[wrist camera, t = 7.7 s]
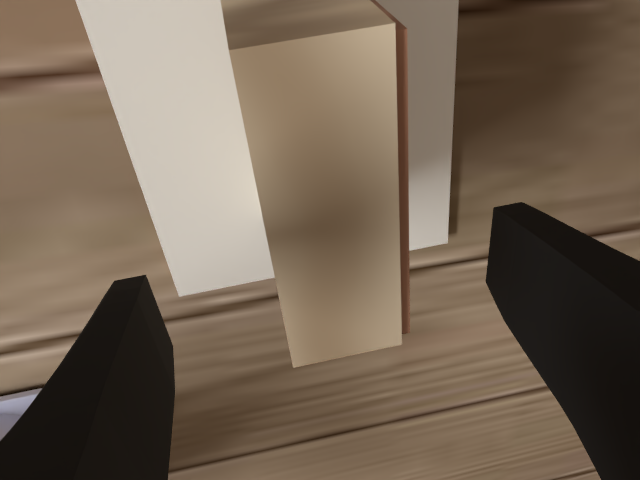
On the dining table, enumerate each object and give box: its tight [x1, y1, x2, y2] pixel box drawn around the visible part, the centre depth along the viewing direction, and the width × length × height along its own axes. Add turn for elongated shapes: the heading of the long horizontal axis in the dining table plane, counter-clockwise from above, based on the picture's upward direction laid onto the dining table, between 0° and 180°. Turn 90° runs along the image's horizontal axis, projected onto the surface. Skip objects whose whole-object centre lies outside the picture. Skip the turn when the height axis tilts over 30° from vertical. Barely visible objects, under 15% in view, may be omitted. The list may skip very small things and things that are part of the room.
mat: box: [76, 0, 459, 297], centre depth 19 cm, size 16×12×1 cm
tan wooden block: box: [220, 0, 410, 368], centre depth 16 cm, size 4×9×8 cm, turn 6°
